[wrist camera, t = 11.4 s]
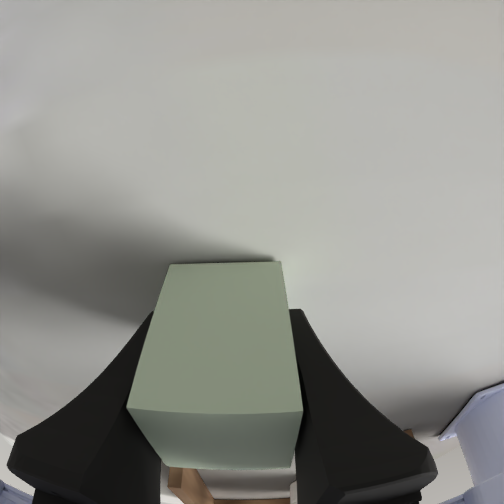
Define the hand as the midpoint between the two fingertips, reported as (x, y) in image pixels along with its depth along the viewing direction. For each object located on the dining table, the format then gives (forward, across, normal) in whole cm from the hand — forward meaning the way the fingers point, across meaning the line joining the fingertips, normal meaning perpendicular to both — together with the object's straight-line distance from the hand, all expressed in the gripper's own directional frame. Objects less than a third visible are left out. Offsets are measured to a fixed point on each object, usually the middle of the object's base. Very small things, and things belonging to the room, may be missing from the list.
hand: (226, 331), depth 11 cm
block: (+1, 0, 0) cm, 1 cm away
